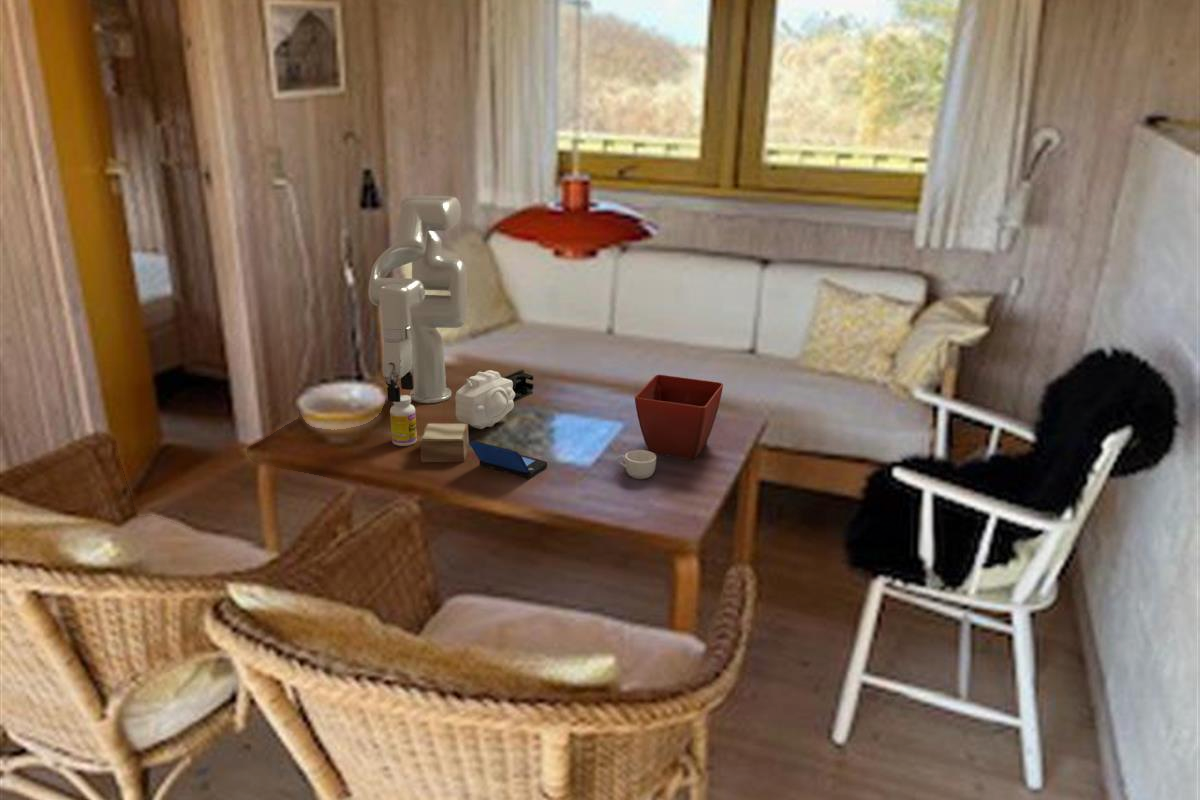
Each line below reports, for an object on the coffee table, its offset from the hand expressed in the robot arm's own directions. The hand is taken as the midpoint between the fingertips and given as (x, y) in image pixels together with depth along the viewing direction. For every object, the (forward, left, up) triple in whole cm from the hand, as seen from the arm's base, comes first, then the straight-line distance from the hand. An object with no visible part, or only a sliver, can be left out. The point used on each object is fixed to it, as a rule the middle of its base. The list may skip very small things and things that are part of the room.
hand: (400, 395), depth 244 cm
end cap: (-41, +21, -14) cm, 48 cm away
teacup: (+8, +64, -14) cm, 66 cm away
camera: (-16, +19, -14) cm, 28 cm away
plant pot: (-10, +73, -14) cm, 75 cm away
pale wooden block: (+4, +13, -14) cm, 19 cm away
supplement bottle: (-1, 0, -14) cm, 14 cm away
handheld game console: (+11, +32, -14) cm, 36 cm away
